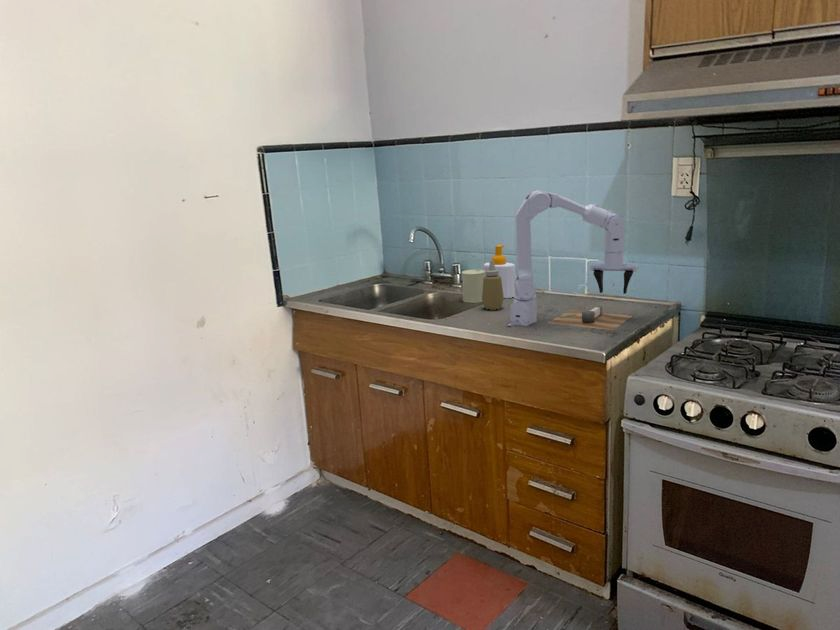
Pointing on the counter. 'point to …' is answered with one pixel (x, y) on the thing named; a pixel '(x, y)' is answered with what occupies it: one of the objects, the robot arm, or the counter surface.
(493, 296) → the squeeze bottle
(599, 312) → the peg
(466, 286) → the can
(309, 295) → the counter surface
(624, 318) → the board
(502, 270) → the soap bottle
